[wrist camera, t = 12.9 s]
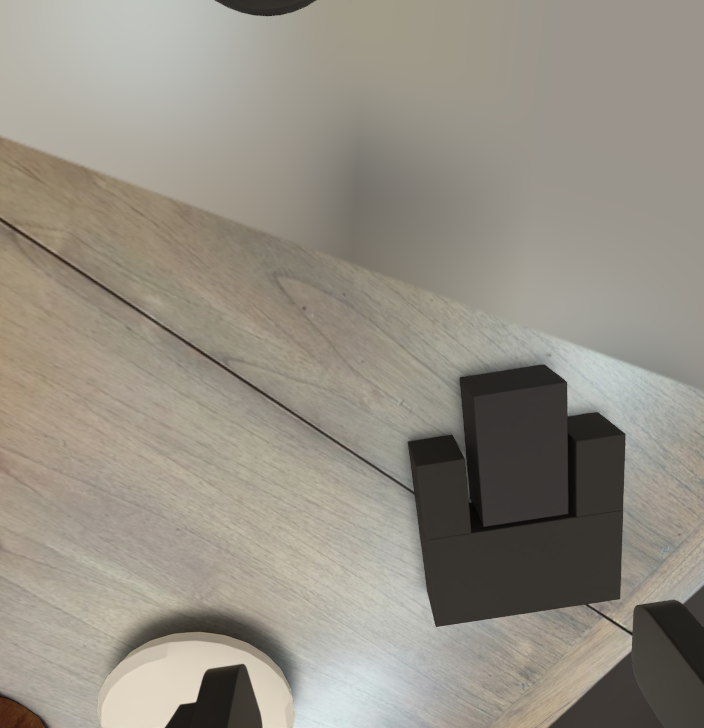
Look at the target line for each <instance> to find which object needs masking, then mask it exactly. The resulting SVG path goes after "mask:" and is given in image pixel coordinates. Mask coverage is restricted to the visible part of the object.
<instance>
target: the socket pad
mask: <svg viewBox="0 0 704 728" xmlns="http://www.w3.org/2000/svg"><path fill="white" fill-rule="evenodd" d="M567 427H568V514H564V515H557V516H551V517H544V518H538V519H531V520H525V521H518V522H512V523H505V524H499V525H492V526H486V527H484V526H483V524H482V522H481V520H480V518H479V516H478V514H477V511H476V509H475V507H474V505H473V503H472V502H471V503H469V501H468V489H467V478H466V467H465V459H464V457H463V455H462V453H461V451H460V449H459V447H458V445H457V443H456V441H455V439H454V437H453V435H450V436H443V437H437V438H431V439H424V440H418V441H411V442H408V446H409V454H410V462H411V469H412V477H413V485H414V492H415V500H416V508H417V516H418V523H419V531H420V539H421V546H422V554H423V562H424V569H425V577H426V585H427V592H428V596H429V600H430V604H431V609H432V613H433V617H434V621H435V625H436V627H439V626H445V625H452V624H459V623H465V622H472V621H478V620H485V619H492V618H498V617H505V616H511V615H518V614H525V613H531V612H538V611H545V610H551V609H558V608H564V607H571V606H578V605H584V604H591V603H598V602H604V601H611V600H617V599H620V586H621V556H622V527H623V493H624V463H625V433H623V432H622V431H621V430H620V429H618V428H617V427H616V426H615V425H613V424H612V423H611V422H610V421H608V420H607V419H606V418H605V417H603V416H602V415H601V414H599V413H591V414H585V415H579V416H572V417H567Z"/></svg>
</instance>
